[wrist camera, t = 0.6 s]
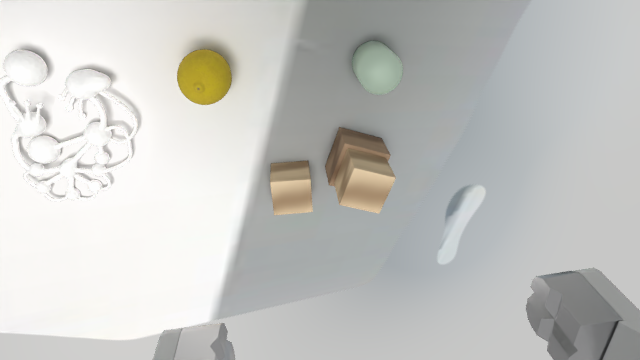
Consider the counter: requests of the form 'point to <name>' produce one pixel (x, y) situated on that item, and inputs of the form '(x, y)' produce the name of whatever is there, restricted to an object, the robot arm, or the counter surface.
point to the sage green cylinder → (377, 67)
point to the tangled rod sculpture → (45, 149)
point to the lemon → (204, 77)
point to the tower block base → (355, 142)
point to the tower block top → (363, 181)
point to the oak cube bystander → (291, 187)
